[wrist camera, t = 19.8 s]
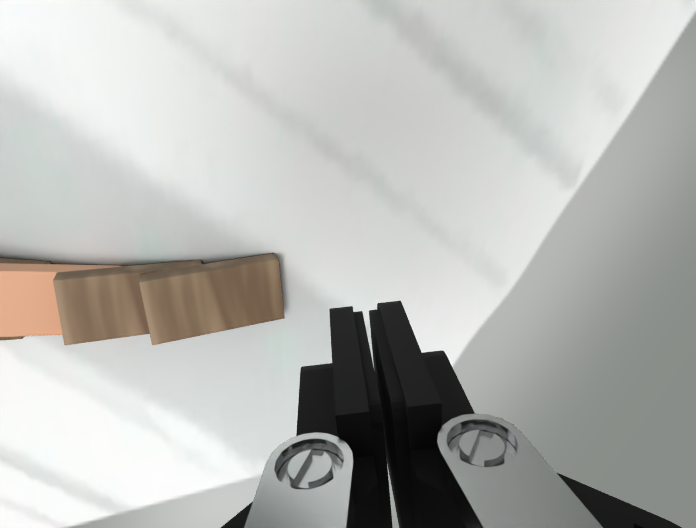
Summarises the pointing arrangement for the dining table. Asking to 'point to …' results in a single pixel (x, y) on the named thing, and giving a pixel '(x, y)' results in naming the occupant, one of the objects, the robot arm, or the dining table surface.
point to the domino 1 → (32, 298)
